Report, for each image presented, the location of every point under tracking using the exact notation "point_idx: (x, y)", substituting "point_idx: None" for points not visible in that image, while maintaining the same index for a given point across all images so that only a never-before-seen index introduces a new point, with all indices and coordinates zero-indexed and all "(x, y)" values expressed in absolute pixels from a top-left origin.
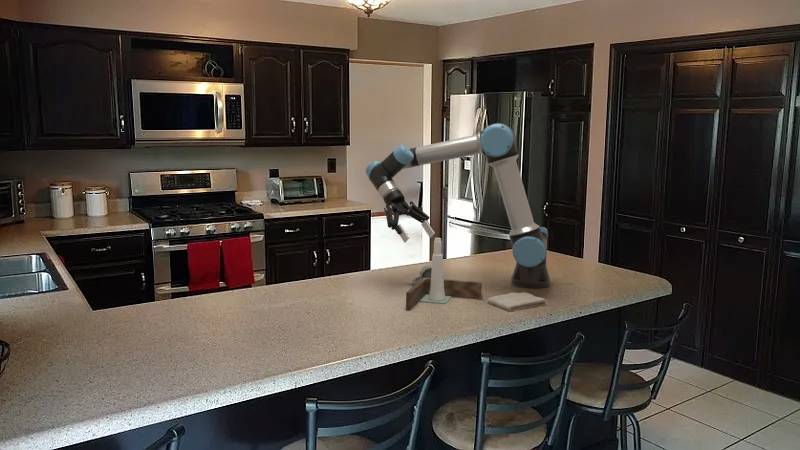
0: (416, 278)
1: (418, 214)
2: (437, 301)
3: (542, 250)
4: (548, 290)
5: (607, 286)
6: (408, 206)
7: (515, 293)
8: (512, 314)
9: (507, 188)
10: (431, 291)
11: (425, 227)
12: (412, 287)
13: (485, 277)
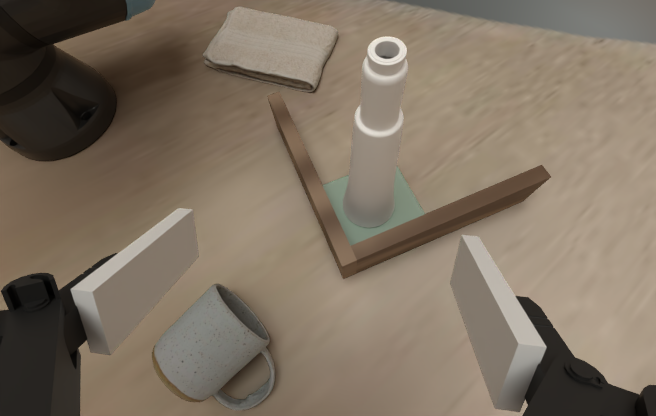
0: (228, 402)
1: (23, 391)
2: (395, 182)
3: None
4: (114, 60)
5: None
6: None
7: (239, 54)
8: (351, 24)
9: None
10: (393, 198)
11: (145, 291)
12: (486, 202)
13: (33, 247)
